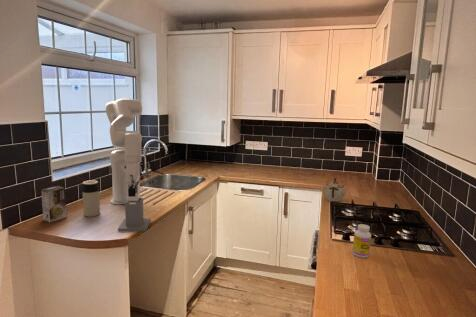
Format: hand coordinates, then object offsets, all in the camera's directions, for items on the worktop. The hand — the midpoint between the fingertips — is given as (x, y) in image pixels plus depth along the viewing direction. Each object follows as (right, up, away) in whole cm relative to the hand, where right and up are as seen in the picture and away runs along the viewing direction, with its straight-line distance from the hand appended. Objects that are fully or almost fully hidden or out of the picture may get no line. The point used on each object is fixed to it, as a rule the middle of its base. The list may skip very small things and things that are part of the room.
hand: (134, 193), depth 153 cm
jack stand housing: (-1, -17, +3) cm, 17 cm away
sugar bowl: (+114, -11, +57) cm, 128 cm away
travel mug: (-28, -13, +17) cm, 35 cm away
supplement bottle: (+103, -24, -19) cm, 107 cm away
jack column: (0, -15, +3) cm, 15 cm away
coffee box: (-44, -14, +9) cm, 47 cm away
